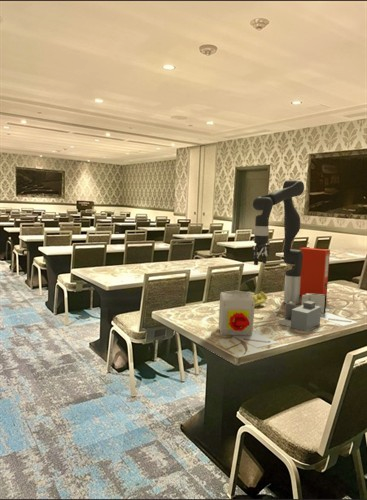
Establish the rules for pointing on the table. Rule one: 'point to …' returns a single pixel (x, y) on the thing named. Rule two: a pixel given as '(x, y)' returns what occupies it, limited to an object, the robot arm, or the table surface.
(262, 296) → the plastic component
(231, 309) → the electrical switch box
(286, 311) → the dark grey tube
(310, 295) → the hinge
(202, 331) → the table surface
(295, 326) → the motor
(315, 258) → the file binder
